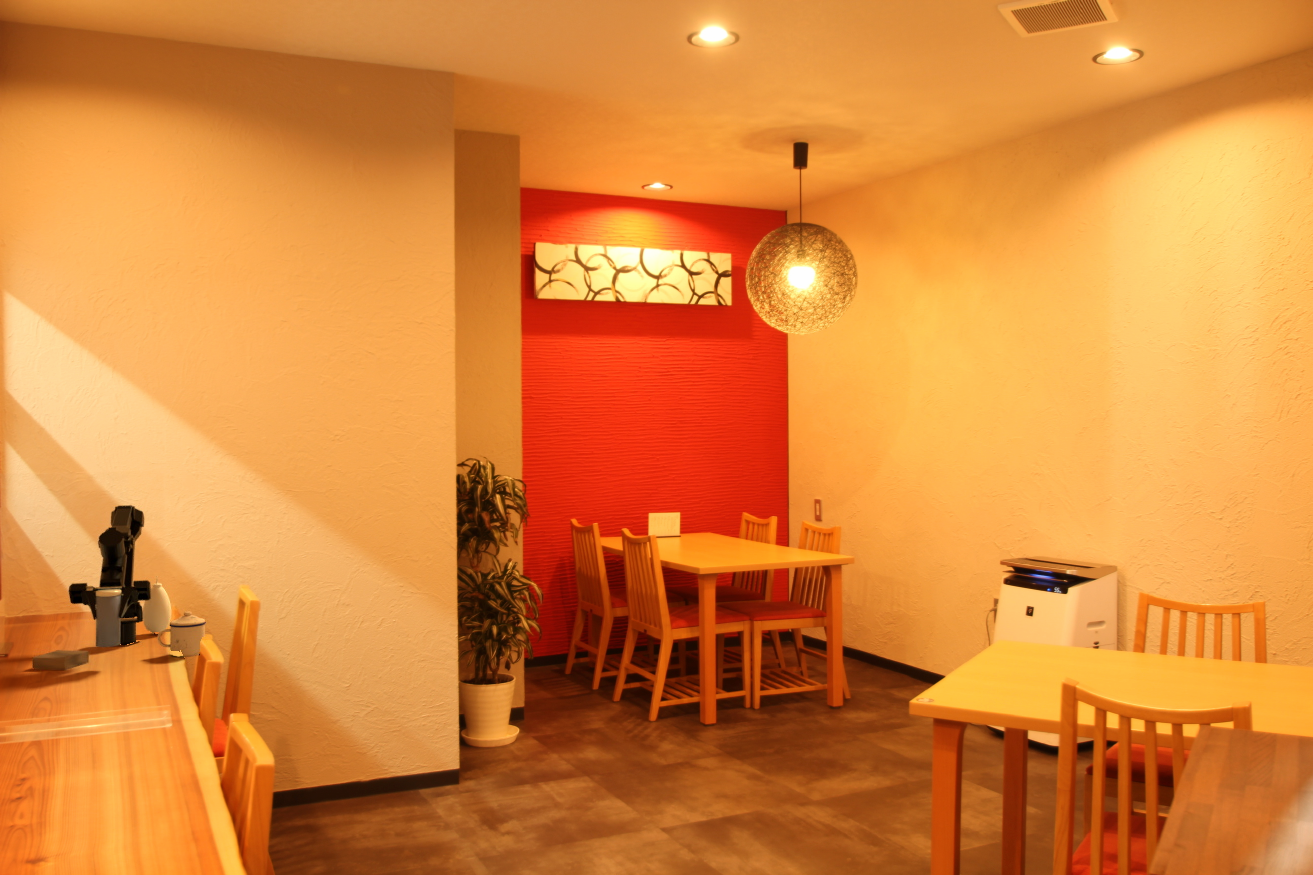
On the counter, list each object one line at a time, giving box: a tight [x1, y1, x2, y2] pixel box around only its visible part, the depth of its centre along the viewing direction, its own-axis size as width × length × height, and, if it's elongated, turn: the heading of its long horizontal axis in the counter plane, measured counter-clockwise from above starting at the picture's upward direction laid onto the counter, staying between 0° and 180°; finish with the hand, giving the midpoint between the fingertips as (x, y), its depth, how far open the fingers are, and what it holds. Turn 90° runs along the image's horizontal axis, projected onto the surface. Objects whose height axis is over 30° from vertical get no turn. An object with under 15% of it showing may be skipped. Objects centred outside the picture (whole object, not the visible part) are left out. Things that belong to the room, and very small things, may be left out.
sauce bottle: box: [142, 574, 172, 634], centre depth 301 cm, size 8×8×18 cm
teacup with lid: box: [157, 611, 207, 658], centre depth 273 cm, size 12×9×12 cm
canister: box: [95, 589, 121, 648], centre depth 256 cm, size 6×6×14 cm
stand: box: [31, 649, 90, 671], centre depth 259 cm, size 9×9×3 cm
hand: (107, 618), depth 255 cm, fingers closed on canister, 6 cm apart
